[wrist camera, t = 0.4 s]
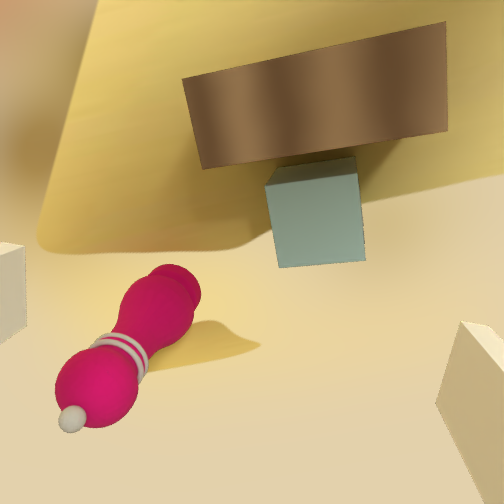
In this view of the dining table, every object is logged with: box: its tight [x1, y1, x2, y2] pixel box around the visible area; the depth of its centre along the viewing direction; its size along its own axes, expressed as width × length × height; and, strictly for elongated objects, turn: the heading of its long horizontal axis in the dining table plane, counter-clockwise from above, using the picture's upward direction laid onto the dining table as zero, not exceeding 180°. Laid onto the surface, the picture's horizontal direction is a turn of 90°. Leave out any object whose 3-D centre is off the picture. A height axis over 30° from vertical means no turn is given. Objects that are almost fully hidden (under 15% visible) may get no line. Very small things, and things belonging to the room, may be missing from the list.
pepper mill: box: [55, 264, 201, 433], centre depth 37 cm, size 7×7×20 cm
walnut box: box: [182, 21, 448, 169], centre depth 31 cm, size 16×6×10 cm, turn 101°
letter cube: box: [264, 156, 366, 268], centre depth 36 cm, size 7×7×7 cm
